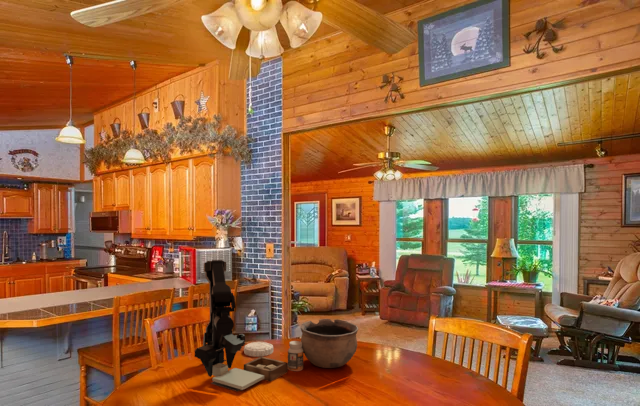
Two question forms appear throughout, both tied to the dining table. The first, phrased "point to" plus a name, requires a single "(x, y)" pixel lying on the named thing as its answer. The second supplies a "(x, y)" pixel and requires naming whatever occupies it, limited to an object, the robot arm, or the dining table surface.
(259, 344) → the mooncake
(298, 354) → the pill bottle
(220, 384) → the mat
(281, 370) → the tub
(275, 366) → the block
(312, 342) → the ceramic bowl
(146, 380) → the dining table surface
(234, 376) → the lid
